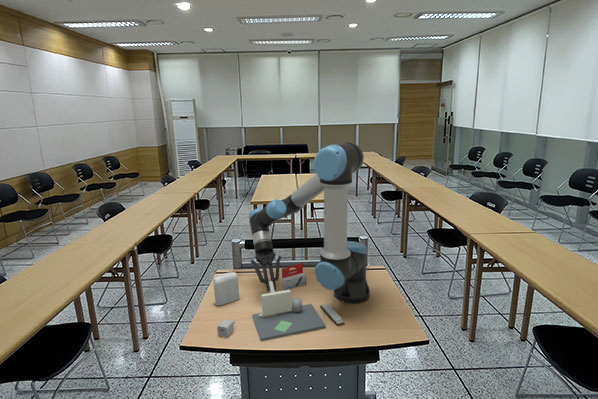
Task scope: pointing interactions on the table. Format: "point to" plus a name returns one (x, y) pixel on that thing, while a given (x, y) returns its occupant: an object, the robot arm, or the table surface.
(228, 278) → the photo printer
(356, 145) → the robot arm
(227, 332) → the usb wall charger
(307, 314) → the gray rectangular board
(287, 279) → the ink cartridge box
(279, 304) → the cream slab with knob
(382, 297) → the table surface
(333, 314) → the harmonica
